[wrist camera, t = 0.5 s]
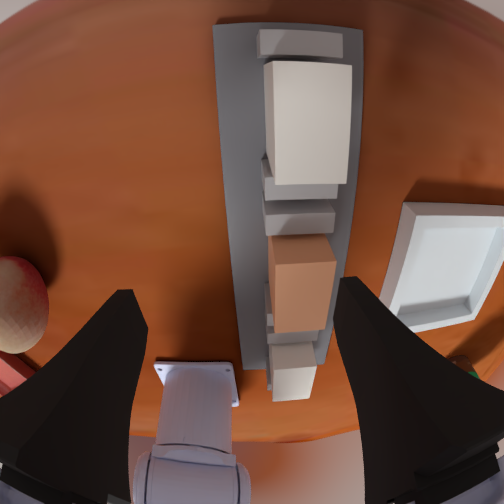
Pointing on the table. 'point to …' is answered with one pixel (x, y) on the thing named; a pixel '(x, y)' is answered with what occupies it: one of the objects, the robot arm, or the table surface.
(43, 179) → the table surface
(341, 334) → the robot arm
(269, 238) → the block
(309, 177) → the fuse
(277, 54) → the rail
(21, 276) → the fruit
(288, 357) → the block
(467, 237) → the tray
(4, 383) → the plant saucer
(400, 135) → the table surface
